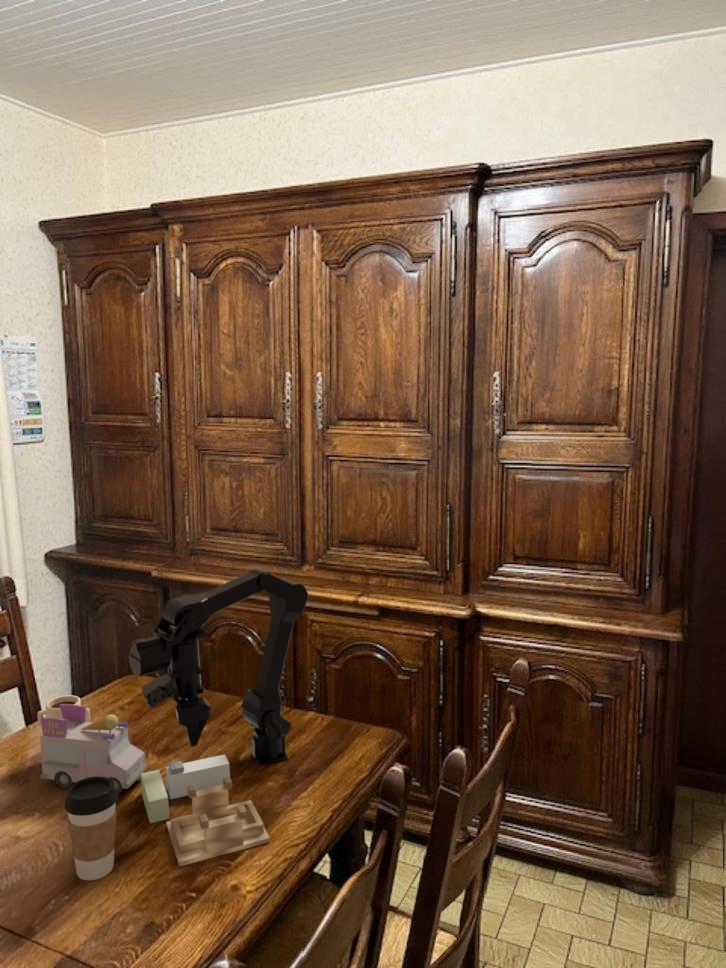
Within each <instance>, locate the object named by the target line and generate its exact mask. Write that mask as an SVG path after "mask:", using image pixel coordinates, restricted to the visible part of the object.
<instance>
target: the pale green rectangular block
mask: <svg viewBox="0 0 726 968" xmlns="http://www.w3.org/2000/svg"><path fill="white" fill-rule="evenodd" d="M140 785H141V787H140V788H141V795H142V799H143V803H144V807H145V810H146V815H147V817H148V820H149V824H153V823H157V822H161V821H165V820H169V819H170V812H169V811H170V810H169V808H170V807H169V794H168V791H167V788H166V786H165V784H164V780H163V778H162V775H161V772H160V770H159V769H156V770H155V769H154V770H150V771H147V772H146V771H144V772H143V773H141V775H140Z"/></svg>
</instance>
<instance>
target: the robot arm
mask: <svg viewBox="0 0 726 968" xmlns="http://www.w3.org/2000/svg"><path fill="white" fill-rule="evenodd" d="M261 592H264V593H266V594H268V595H269V598H268V605H269V606H268V607H269V612H270V617H271V618H270V619H271V620H270V624H269V628H268V634H267V637H266V641H265V646H264V650H263V654H262V659H261V662H260V666H259V671H258V674H257V675H258V676H257V679H256V683H255V685H254V686H253V687H252V688H251V689H247V688H246V689H245V690H244V692H243V700H242V703H241V705H240V708H241V714H242V716H243V719H245V721H247V722H248V723H249V725H250V726H251V727H253V736H251V754H252V756H253V759H255V760H256V762H257V763H258V765H260V766H263V765H268V764H272V763H276V762H282V761H286V760H288V759H289V756H288V754H287V752H286V735H287V734H289V733H290V729H291V725H292V724H291V722H289V721H288V720H287V719H285V718H284V717H283V716H281V712H282V699H281V694H280V688H279V687H280V684H281V683H280V682H281V680H282V676H283V675H282V674H283V671H284V666H285V662H286V659H287V658H286V657H287V653H288V648H289V644H290V640H291V635H292V631H293V627H294V624H295V623H296V621H297V620H298V619H299V618H300V617H301V616H302V614H303V612H304V610H305V607H306V604H307V602H308V598H309V593H308V591H307V589H306V586H304V585H303V584H300V583H298V582H294V581H292V580H289V579H286V578H278V577H277V576H274V575H273V574H272V573H270V572H268V571H266V570H264V569H263V570H262V569H260V568H254V569H252V570H250V571H249V572H247V573H245V574H244V575H241V576H239V577H236V578H234V579H232V580H229V581H227V582H225V583H223V584H221V585H219V586H216V587H214V588H211V589H209V590H208V591H206V592H202V593H197V594H195V593H193V594H186V595H183V596H178V597H174V598H172V599H170V600H168V601H167V602H166V603H165V606H164V608H163V611H162V615H161V617H160V619H159V621H158V622H157V624H156V626H155V627H154V630H153V631H152V634H153V635H154V636H150V637H146V638H137V639H134V640H132V646H131V647H130V651H129V654H128V662H129V666H130V669H131V671H132V673H133V674H134V676H135V677H137V678H139V677H142V676H145V675H149V674H152V673H156V672H160V671H163V670H166V669H167V673H165V674H163V675H160V676H158V677H157V678H154V679H152V680H151V681H148V682H147V683H144V684H143V685H142V686H141V692H142V695H143V698H144V699H145V701H146V704H147V705H148V706H149V708H150V709H152V708H155V707H156V706H158V705H159V704H162V703H163V702H165V701H167V700H168V699H172V700H173V701H174V702H175V703H176V705H175V715H176V720H177V722H178V724H179V725H181V726H183V727H185V730H186V733H187V736H188V741H189V744H190V747H196V746H197V745H198V742H199V741H200V738H201V735H202V733H203V731H204V729H205V726H206V725H207V723H208V720H210V719H211V718H212V707H211V704H210V703H209V701H208V700H207V699H206V697H203V696H201V697H198V695H200V694H201V695H202V694H203V693H204V687H203V685H202V676H201V675H202V674H203V668H202V666H201V662H200V661H201V659H200V644H199V640H201V639H204V638H208V637H209V635H210V634H209V633H208V632H207V631H205V630H204V629H203V628H202V627H203V626H204V625H205V624H206V623H208V621H209V620H210V619H211V617H212V616H213V615H216V613H218V612H220V611H222V610H224V609H226V608H228V607H230V606H233V605H235V604H237V603H240V602H242V601H244V600H246V599H247V598H249V597H252V596H254V595H256V594H258V593H261ZM170 628H173V629H174V630H173V631H172V630H170Z"/></svg>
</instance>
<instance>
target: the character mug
mask: <svg viewBox="0 0 726 968" xmlns="http://www.w3.org/2000/svg"><path fill="white" fill-rule="evenodd" d="M81 703H82V701H81V698H80V697H79V696H76V695H73V694H72V695H71V694H70V695H68V694H65V695H60V696H57V697H53V698H51V699H50V700H48V701H47V702H46V703H45V710H39V711H38V712H37V723H38V726H42V723H41V718H42V717H43V716H46V717H45V718H59V719H63V716H62V712H61V709H60V704H64V705H68V704H72V705H78V706H82V704H81ZM86 722H91V710H90V708H89V707H86Z"/></svg>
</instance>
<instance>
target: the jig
mask: <svg viewBox="0 0 726 968" xmlns="http://www.w3.org/2000/svg"><path fill="white" fill-rule="evenodd" d="M231 789H233V781H232V779H231V776H230V777H224V778H223V785H220V786H215V787H211V788H207V789H202V790H198V791H196V788H195V786H194V785H189V786H188V795H187V796H188V797H189V799H191V803H192V804H191V805H192V813H191V814H187V815H182V816H180V817H179V816H178V817H174V818H171V819H170V821H166V828H167V831H168V835H169V837H170V838H169V839H170V841H171V844H172V848H173V851H174V854H175V857H176V861H177V865H178V867H183V866H186V865H190V864H194V863H197V862H201V861H205V860H208V859H211V858H216V857H220V856H224V855H227V854H231V853H235V852H239V851H241V850H245V849H249V848H253V847H254V848H255V847H257V846H260V845H263V844H265V845H266V844H268V843H270V842H271V838H270V836H269V834H268V832H267V830H266V827H265V826H264V825H265V824H264V823H263V822H264V821H263V820H262V818H261V816H260V815H259V814H260V813H258V811H257V809H256V807H255V805H254V802H253V800H251V799H249V800H245V801H241V802H237V803H232V804H229V803H230V802H229V801H230V800H229V790H231Z"/></svg>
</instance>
